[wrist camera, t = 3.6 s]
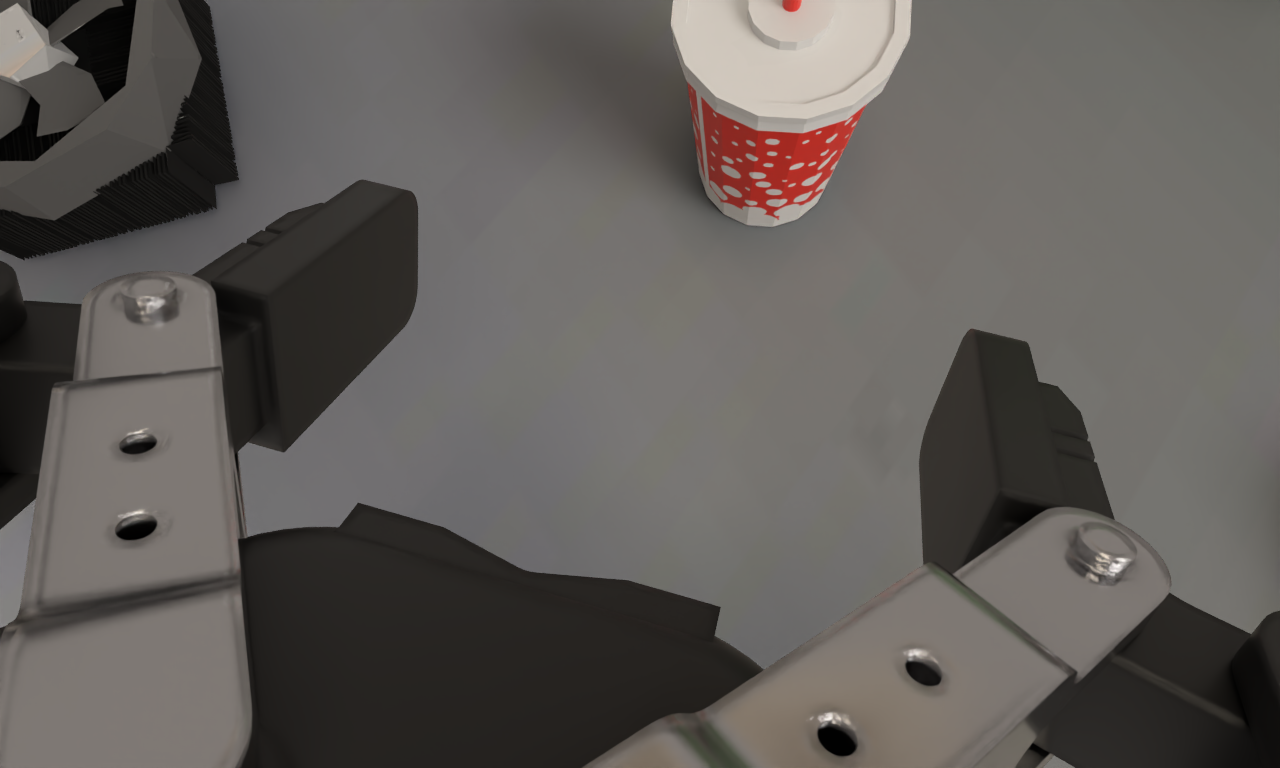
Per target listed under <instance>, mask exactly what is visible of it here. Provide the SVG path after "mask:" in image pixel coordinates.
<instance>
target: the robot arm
mask: <svg viewBox="0 0 1280 768" xmlns="http://www.w3.org/2000/svg"><path fill="white" fill-rule="evenodd" d="M417 288H418V206H417V200H416V197H415V195H414V194H413V193H412V192H411V191H408V190H404V189H400V188H396V187H392V186H387V185H383V184H379V183H375V182H371V181H367V180H359V181H357V182H355V183H354V184H352V185H351V186H349V187H348V188H346V189H345V190H343V191H342V192H341V193H339V194H338V195H336V196H335V197H333V198H332V199H330V200H329V201H327V202H326V203H319V204H315V205H312V206H309V207H305V208H302V209H299V210H295V211H292V212H288V213H287V214H285V215H284V216H282V217H281V218H279V219H278V220H276V221H275V222H273V223H271V224H270V225H268V226H267V227H266V229H265V231H262V230H261V231H259V232H258V233H256V234H255V235H253V236H252V237H250V238H248V239H247V243H243V242H242V243H241V244H239V245H238V246H236V247H235V248H233V249H232V250H230V251H229V252H227V253H225V254H224V255H222V256H221V257H219V258H218V259H216V260H215V261H213V262H212V263H210V264H209V265H207V266H206V267H204V268H202V269H201V270H199V271H198V272H196V273H195V274H193V275H189V274H184V273H179V272H170V271H148V272H139V273H133V274H127V275H123V276H119V277H116V278H113V279H110V280H108V281H106V282H104V283H101V284H99V285H98V286H96V287H95V288H93V289H92V290H91V291H90V292H89V293H87V295H86V296H85V298H84V299H83V302H82V304H68V303H53V302H37V301H23V297H22V294H21V290H20V287H19V283H18V280H17V276H16V273H15V271H14V269H13V268H12V267H11V266H9V265H8V264H6V263H4V262H2V261H0V529H1V528H2V527H4V526H5V525H6V524H7V523H8V522H9V521H11V520H12V519H13V518H14V517H15V516H16V515H17V514H19V513H20V512H21V511H22V510H23V509H24V508H25V507H27V506H28V505H29V504H30V503H31V502H32V501H33V500H35V499H36V502H35V509H34V516H33V523H32V530H31V537H30V544H29V551H28V557H27V564H26V571H25V578H24V585H23V592H22V599H21V605H20V610H19V613H18V616H17V618H16V619H15V620H14V621H12V622H10V623H9V624H8V625H7V626H4V627H2V628H0V768H1043V767H1044V766H1045V765H1046V764H1047V763H1048V762H1049V761H1050V760H1051V759H1052V757H1053V756H1054V755H1055V756H1056V757H1058V758H1060V759H1061V760H1063V761H1065V762H1067V763H1068V764H1070V765H1072V766H1074V767H1075V768H1280V611H1277V612H1273V613H1271V614H1269V615H1267V616H1266V618H1265V619H1264V620H1263V621H1262V622H1261V623H1260V624H1259V626H1258V627H1257V628H1256V629H1255V631H1254V632H1253V633H1252V634H1250V633H1247V632H1245V631H1243V630H1241V629H1239V628H1237V627H1235V626H1233V625H1231V624H1229V623H1227V622H1225V621H1223V620H1220V619H1218V618H1216V617H1214V616H1212V615H1210V614H1208V613H1206V612H1204V611H1202V610H1200V609H1198V608H1196V607H1194V606H1192V605H1190V604H1188V603H1186V602H1184V601H1182V600H1180V599H1179V598H1177V597H1176V596H1174V595H1172V594H1171V593H1169V592H1170V589H1171V576H1170V573H1169V570H1168V568H1167V566H1166V564H1165V562H1164V560H1163V559H1162V558H1161V556H1160V555H1159V554H1158V552H1157V551H1156V550H1155V549H1154V548H1153V547H1152V546H1151V545H1150V544H1149V543H1148V542H1146V541H1145V540H1144V539H1143V538H1142V537H1141V536H1139V535H1138V534H1136V533H1135V532H1134V531H1132V530H1131V529H1129V528H1127V527H1126V526H1124V525H1122V524H1121V523H1119V522H1117V521H1115V519H1114V516H1113V513H1112V510H1111V507H1110V504H1109V500H1108V497H1107V494H1106V491H1105V488H1104V485H1103V481H1102V478H1101V475H1100V472H1099V469H1098V466H1097V463H1096V462H1094V458H1095V456H1094V453H1093V450H1092V447H1091V444H1090V442H1089V441H1087V439H1088V434H1087V431H1086V428H1085V425H1084V422H1083V418H1082V415H1081V412H1080V411H1079V410H1078V409H1077V408H1076V406H1075V405H1074V404H1073V403H1072V402H1071V401H1070V400H1069V399H1068V397H1067V396H1066V395H1065V394H1064V393H1063V392H1062V391H1061V390H1060V389H1059V387H1058V386H1054V385H1050V384H1046V383H1042V382H1038V378H1037V374H1036V371H1035V367H1034V363H1033V359H1032V355H1031V351H1030V347H1029V345H1028V343H1027V342H1025V341H1021V340H1017V339H1013V338H1008V337H1004V336H1000V335H996V334H992V333H988V332H984V331H980V330H975V329H970V330H969V331H968V332H967V333H966V335H965V336H964V338H963V340H962V342H961V344H960V346H959V349H958V351H957V353H956V356H955V358H954V361H953V363H952V365H951V368H950V370H949V373H948V375H947V377H946V380H945V382H944V385H943V387H942V389H941V392H940V394H939V397H938V399H937V401H936V404H935V406H934V409H933V411H932V413H931V416H930V418H929V421H928V423H927V426H926V429H925V433H924V436H923V440H922V445H921V450H920V459H919V471H920V495H921V519H922V543H923V565H922V566H921V567H919V568H917V569H916V570H914V571H913V572H911V573H910V574H908V575H907V576H905V577H904V578H902V579H901V580H899V581H898V582H896V583H895V584H893V585H892V586H890V587H889V588H887V589H886V590H884V591H883V592H881V593H880V594H878V595H877V596H875V597H874V598H872V599H871V600H869V601H868V602H866V603H865V604H863V605H862V606H860V607H859V608H857V609H855V610H854V611H852V612H851V613H849V614H848V615H846V616H845V617H843V618H842V619H840V620H839V621H837V622H836V623H834V624H833V625H831V626H830V627H828V628H827V629H825V630H824V631H822V632H821V633H819V634H818V635H816V636H815V637H813V638H812V639H810V640H809V641H807V642H806V643H804V644H803V645H801V646H800V647H798V648H797V649H795V650H794V651H792V652H790V653H789V654H787V655H786V656H784V657H783V658H781V659H780V660H778V661H777V662H775V663H774V664H772V665H771V666H769V667H768V668H766V669H765V670H763V669H762V668H761V667H760V666H759V665H757V664H756V663H755V662H754V661H753V660H751V659H750V658H749V657H747V656H746V655H744V654H743V653H741V652H740V651H738V650H737V649H736V648H734V647H733V646H731V645H730V644H728V643H726V642H724V641H723V640H721V639H719V638H717V637H715V636H714V635H715V630H716V626H717V621H718V617H719V612H720V607H718V606H715V605H712V604H708V603H705V602H701V601H698V600H694V599H691V598H687V597H684V596H680V595H677V594H673V593H670V592H666V591H663V590H659V589H656V588H652V587H649V586H646V585H642V584H639V583H635V582H632V581H628V580H616V579H604V578H593V577H581V576H569V575H557V574H546V573H535V572H529V571H526V570H523V569H520V568H518V567H516V566H514V565H513V564H511V563H509V562H507V561H505V560H503V559H501V558H500V557H498V556H496V555H494V554H492V553H490V552H488V551H487V550H485V549H483V548H481V547H479V546H477V545H475V544H474V543H472V542H470V541H468V540H466V539H464V538H462V537H461V536H459V535H457V534H455V533H453V532H451V531H450V530H448V529H446V528H444V527H441V526H437V525H434V524H430V523H427V522H423V521H420V520H416V519H413V518H409V517H406V516H402V515H399V514H395V513H392V512H388V511H385V510H381V509H378V508H375V507H371V506H368V505H364V504H361V503H358V504H357V505H356V506H355V508H354V509H353V510H352V511H351V513H350V514H349V515H348V517H347V518H346V519H345V520H344V522H343V523H342V524H341V525H340V527H339V528H337V527H303V528H293V529H283V530H278V531H272V532H267V533H261V534H257V535H254V536H250V537H248V535H247V526H246V517H245V507H244V498H243V489H242V480H241V471H240V464H239V457H238V451H239V450H240V449H241V448H242V447H243V446H244V445H245V444H246V443H247V442H249V443H252V444H256V445H259V446H263V447H267V448H270V449H274V450H277V451H281V452H285V451H286V450H287V449H288V448H289V447H290V446H291V445H292V444H293V443H294V442H295V441H296V440H297V438H298V437H299V436H300V435H301V434H302V433H303V432H304V431H305V430H306V429H307V428H308V427H309V426H310V425H311V424H312V423H313V422H314V421H315V420H316V419H317V418H318V417H319V416H320V414H321V413H322V412H323V411H324V410H325V409H326V408H327V407H328V406H329V405H330V404H331V403H332V402H333V401H334V400H335V399H336V398H337V397H338V396H339V395H340V394H341V393H342V392H343V391H344V389H345V388H346V387H347V386H348V385H349V384H350V383H351V382H352V381H353V380H354V379H355V378H356V377H357V376H358V375H359V374H360V373H361V372H362V371H363V370H364V369H365V368H366V367H367V365H368V364H369V363H370V362H371V361H372V360H373V359H374V358H375V357H376V356H377V355H378V354H379V353H380V352H381V351H382V350H383V349H384V348H385V347H386V346H387V345H388V344H389V343H390V342H391V340H392V339H393V338H394V337H395V336H396V335H397V334H398V333H399V332H400V331H401V330H402V329H403V328H404V327H405V325H406V324H407V322H408V321H409V319H410V317H411V314H412V312H413V309H414V306H415V302H416V297H417Z"/></svg>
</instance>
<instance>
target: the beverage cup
mask: <svg viewBox="0 0 1280 768" xmlns="http://www.w3.org/2000/svg"><path fill="white" fill-rule="evenodd" d="M910 24H911V0H673V9H672V19H671V32H672V34H673V44H674V47H675V50H676V53H677V55H678V58H679V61H680V64H681V67H682V70H683V73H684V76H685V78H686V81H687V83H688V90H689V98H690V106H691V113H692V121H693V128H694V136H695V143H696V151H697V159H698V166H699V174H700V177H701V180H702V182H703V185H704V188H705V191H706V194H707V196H708V198H709V199H710V200H711V201H712V202H713V203H714V204H715V205H716V206H717V207H718V208H719V210H720V211H721V212H722V213H723V214H724V215H726V216H728V217H731V218H733V219H735V220H737V221H739V222H741V223H743V224H745V225H752V226H767V227H774V226H777V225H781V224H784V223H787V222H790V221H793V220H797V219H798V218H800V217H801V216H802V215H803V214H804V213H806V212H807V211H808V210H809V209H811V208H812V207H813V206H814V205H816V204H817V202H818V200H819V198H820V196H821V195H822V193H823V191H824V189H825V187H826V185H827V183H828V181H829V179H830V177H831V175H832V173H833V171H834V169H835V167H836V165H837V163H838V161H839V159H840V157H841V155H842V153H843V151H844V149H845V147H846V145H847V143H848V141H849V139H850V137H851V135H852V133H853V131H854V129H855V127H856V125H857V123H858V121H859V119H860V117H861V115H862V112H863V110H864V108H865V106H866V104H867V103H869V102H870V101H871V100H872V99H874V98H875V97H876V96H877V95H878V94H880V93H881V92H882V91H883V89H884V87H885V85H886V83H887V81H888V79H889V77H890V75H891V74H892V72H893V70H894V68H895V66H896V64H897V62H898V60H899V58H900V56H901V54H902V52H903V50H904V48H905V47H906V45H907V43H908V40H909V38H910Z"/></svg>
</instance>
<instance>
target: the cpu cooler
mask: <svg viewBox="0 0 1280 768" xmlns="http://www.w3.org/2000/svg"><path fill="white" fill-rule="evenodd" d="M210 12H211V11H210V7H209V6H208V4H207V3H206V2H205V1H204V0H0V250H2V251H5V252H7V253H9V254H12V255H14V256H16V257H18V258H21V259H23V260H25V258H28V259H29V257H31V258H32V255H33V256H35V257H36V254H37V255H40V256H41V255H45V253H47V254H48V252H50V253H53V252H57V250H58V251H61V249H62V250H65V248H66V249H69V247H70V248H73V246H74V247H77V245H79V243H81V244H83V245H84V244H85V243H87V244H88V243H89V241H90V242H94V241H93V239H95V240H97V239H98V240H102V239H105V237H106V238H110V237H114V236H113V235H115V236H118V233H119V234H121V233H123V234H125V233H126V232H127V233H128V231H127V229H128V230H130V231H131V232H133V231H134V229H136V230H137V228H138V229H139V230H140V229H142V227H141V226H143V227H144V228H145V226H146V227H150V225H151V226H154V224H155V225H158V223H159V224H162V222H164V223H167V222H170V220H172V221H174V217H175V218H177V219H178V217H179V218H180V219H182V217H184V218H185V217H186V215H187V216H189V214H188V212H189V213H190V214H192V215H193V212H194V213H195V214H199V213H198V212H200V213H201V211H200V209H201V210H202V211H203V212H207V211H208V207H209V208H211V209H212V210H213V208H212V206H213V207H214V208H216V196H215V186H214V185H217V184H222V183H226V182H231V181H235V180H239V178H238V177H237V176H238V173H236V172H238V171H237V170H236V168H237V166H236V165H235V164H236V163H234V162H233V161H232V160H235V159H234V158H235V155H234V154H235V153H234V151H233V150H234V148H233V147H232V145H231V144H230V143H233V142H232V140H231V139H232V137H231V133H230V132H231V130H230V129H229V128H230V126H229V125H230V124H229V122H228V121H229V119H228V118H227V117H226V116H228V115H227V114H228V112H227V111H226V110H227V109H226V108H225V107H227V106H226V104H225V103H226V101H225V100H224V99H225V98H224V97H223V96H225V94H224V93H223V92H224V91H223V90H222V89H224V88H223V86H222V85H223V83H222V80H221V79H220V78H219V77H221V76H220V75H221V74H220V73H219V71H221V70H220V65H219V61H218V60H219V59H218V56H217V55H216V53H217V48H216V47H215V46H214V45H216V44H215V43H216V41H215V40H214V39H215V37H214V36H215V35H214V30H213V29H212V28H213V27H212V26H211V25H212V20H211V19H212V17H211V13H210ZM203 176H204V177H203ZM208 180H209V181H208ZM216 209H217V208H216ZM206 210H207V211H206ZM166 221H167V222H166ZM133 228H134V229H133ZM117 232H118V233H117ZM98 240H97V241H98ZM79 246H80V245H79ZM24 257H25V258H24Z"/></svg>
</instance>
